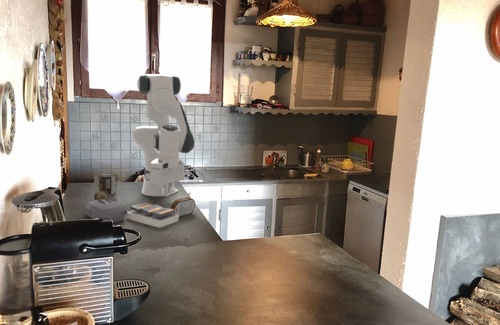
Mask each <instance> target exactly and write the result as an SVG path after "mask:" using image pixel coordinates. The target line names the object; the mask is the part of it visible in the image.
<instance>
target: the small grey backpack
mask: <svg viewBox="0 0 500 325" xmlns="http://www.w3.org/2000/svg"><path fill="white" fill-rule="evenodd" d="M84 210H85V213H86V216H88V217H89V218H90V219H91V220H93V219H95V218H108V217H111V218H112V220H113V223H114V224H115V223H119V222H122V221H123V219H124V218H125V214H126V213H125V211H124V210H125V209H124V207H123V206H122V205H121V203H119V202H117V201H116V202H115V201H111V200H107V199H104V200H95V199H94V200H90V201H88V202H86V204H85V206H84ZM113 223H112V224H113Z"/></svg>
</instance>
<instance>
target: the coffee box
mask: <svg viewBox="0 0 500 325" xmlns="http://www.w3.org/2000/svg"><path fill="white" fill-rule="evenodd" d="M117 177H118V176H117V174H113V173H112V174H111V173H110V174H109V173H98V174H96V175H94V177H93V178H94V182H93V185H94V200H104V199H107V200H111V201H115V202H117V189H118V188H117V181H118V180H117Z"/></svg>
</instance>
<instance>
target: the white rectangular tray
mask: <svg viewBox="0 0 500 325" xmlns="http://www.w3.org/2000/svg"><path fill="white" fill-rule="evenodd" d="M124 211H125V214H126V219H127V220H131V221H134V222H137V223H141V224H144V225H148V226H152V227H155V228H158V229H160V228H164V227H166V226H168V225H171V224H174V223H177V222H179V218H180V217H179V215H178V214H174V213H173V214H170V215H167V216H164V217H161V218H160V217H157V216H153V215H147V214H145V213H143V212H139V213H138V212H136V211H134V210H130V211H129V210H125V209H124Z"/></svg>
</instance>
